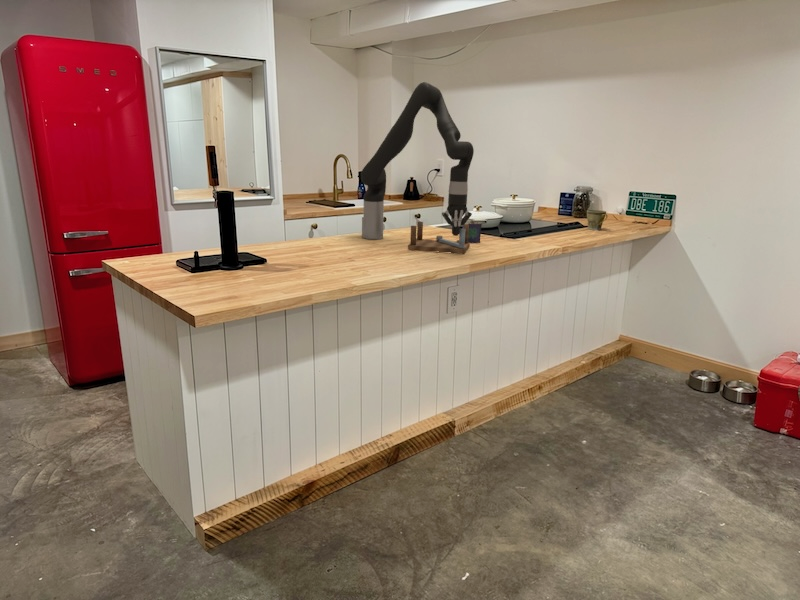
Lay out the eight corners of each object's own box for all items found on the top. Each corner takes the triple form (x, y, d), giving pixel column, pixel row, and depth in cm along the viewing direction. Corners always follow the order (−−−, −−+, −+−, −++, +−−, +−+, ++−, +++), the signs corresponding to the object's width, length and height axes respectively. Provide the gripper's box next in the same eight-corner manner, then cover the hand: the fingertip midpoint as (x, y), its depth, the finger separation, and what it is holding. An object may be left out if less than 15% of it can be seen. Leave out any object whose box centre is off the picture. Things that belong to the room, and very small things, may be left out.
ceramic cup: (580, 228, 305) (582, 210, 302) (594, 227, 309) (596, 209, 306) (597, 232, 293) (600, 213, 290) (612, 231, 297) (614, 212, 295)
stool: (407, 249, 238) (408, 226, 235) (416, 243, 253) (417, 221, 250) (464, 254, 232) (465, 230, 229) (469, 247, 247) (470, 224, 244)
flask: (462, 243, 255) (464, 220, 252) (460, 242, 257) (461, 219, 254) (481, 242, 258) (482, 219, 255) (478, 241, 260) (479, 218, 257)
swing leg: (435, 240, 247) (435, 223, 245) (439, 240, 249) (440, 222, 246) (460, 248, 232) (461, 229, 230) (465, 247, 234) (466, 229, 231)
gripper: (446, 193, 221) (444, 237, 225) (476, 193, 225) (474, 236, 230) (439, 191, 227) (437, 234, 232) (468, 191, 232) (466, 233, 236)
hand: (455, 235), depth 231 cm, fingers closed
